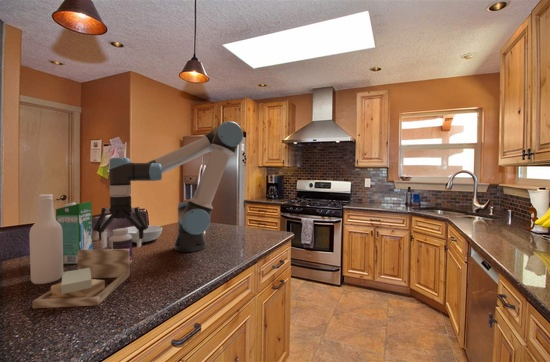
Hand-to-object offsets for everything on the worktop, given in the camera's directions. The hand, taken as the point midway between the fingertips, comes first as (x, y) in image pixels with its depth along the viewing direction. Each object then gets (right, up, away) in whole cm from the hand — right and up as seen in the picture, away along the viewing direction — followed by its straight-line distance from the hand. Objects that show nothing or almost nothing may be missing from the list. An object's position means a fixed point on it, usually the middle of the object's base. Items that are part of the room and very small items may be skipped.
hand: (121, 247), depth 111 cm
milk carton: (-23, -7, +5) cm, 24 cm away
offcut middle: (+3, -7, -28) cm, 29 cm away
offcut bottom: (+3, -9, -29) cm, 30 cm away
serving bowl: (-10, -6, +37) cm, 39 cm away
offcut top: (+3, -4, -29) cm, 29 cm away
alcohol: (-17, -8, -16) cm, 25 cm away
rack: (+2, -8, -24) cm, 25 cm away
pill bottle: (0, -7, 0) cm, 7 cm away
